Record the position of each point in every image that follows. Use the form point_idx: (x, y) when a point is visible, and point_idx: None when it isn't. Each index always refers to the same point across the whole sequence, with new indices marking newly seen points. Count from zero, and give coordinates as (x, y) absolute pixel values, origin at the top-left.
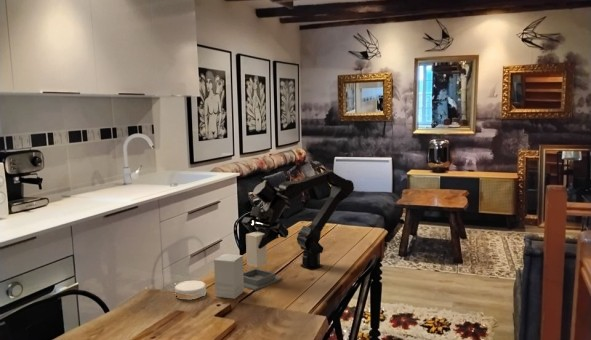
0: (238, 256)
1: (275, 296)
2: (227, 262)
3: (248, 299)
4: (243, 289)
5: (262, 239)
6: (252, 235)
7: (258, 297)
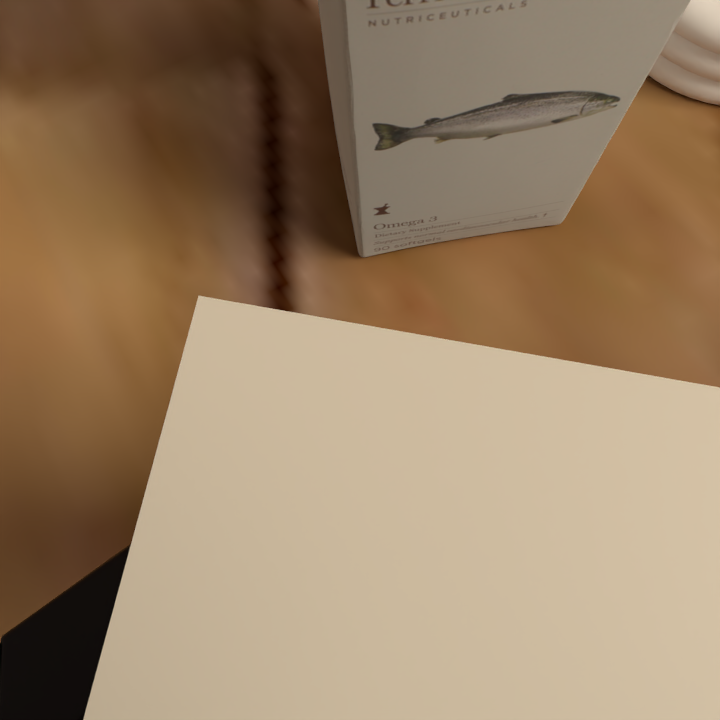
0: None
1: (29, 297)
2: None
3: (221, 135)
4: (357, 240)
5: (100, 631)
6: (500, 392)
7: (162, 209)
